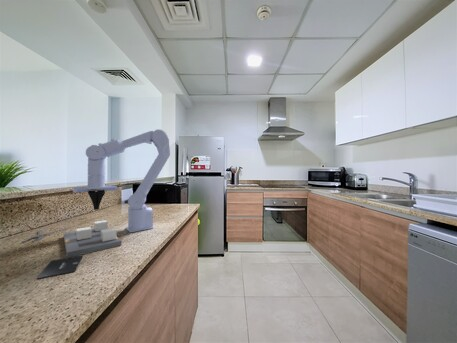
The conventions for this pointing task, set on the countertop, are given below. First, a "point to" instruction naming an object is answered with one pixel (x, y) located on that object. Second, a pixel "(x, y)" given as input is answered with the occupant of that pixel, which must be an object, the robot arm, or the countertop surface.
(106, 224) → the tab
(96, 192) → the robot arm
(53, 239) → the countertop surface
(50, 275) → the solid state drive
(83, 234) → the tab
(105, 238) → the white block
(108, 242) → the switch board
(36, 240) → the pliers
